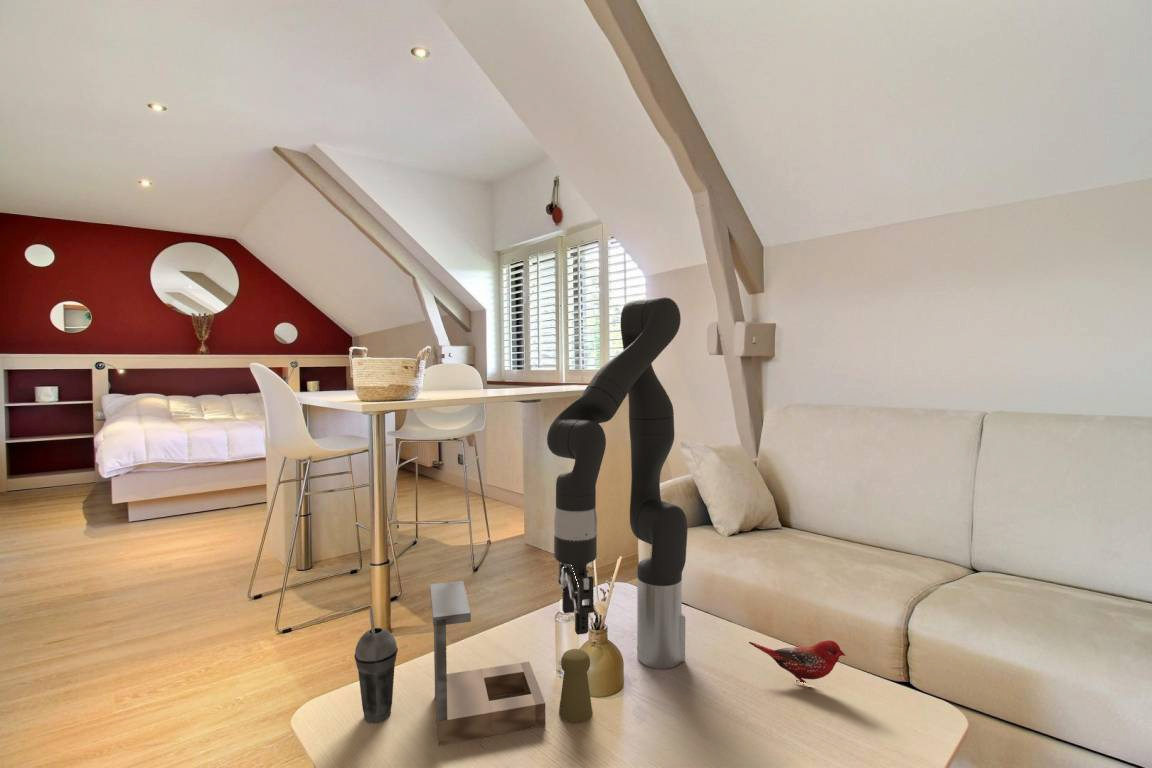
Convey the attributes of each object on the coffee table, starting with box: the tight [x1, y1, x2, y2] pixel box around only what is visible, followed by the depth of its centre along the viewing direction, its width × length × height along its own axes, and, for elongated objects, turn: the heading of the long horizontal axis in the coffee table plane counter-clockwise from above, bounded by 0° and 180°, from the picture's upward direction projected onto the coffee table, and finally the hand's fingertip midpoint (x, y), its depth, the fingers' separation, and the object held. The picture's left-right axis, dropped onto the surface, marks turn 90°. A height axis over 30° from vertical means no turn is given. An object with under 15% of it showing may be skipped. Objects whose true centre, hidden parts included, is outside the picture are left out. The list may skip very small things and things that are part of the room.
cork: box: [558, 648, 593, 724], centre depth 103 cm, size 6×6×11 cm
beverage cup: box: [353, 607, 399, 724], centre depth 102 cm, size 7×7×20 cm
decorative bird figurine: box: [748, 639, 847, 683], centre depth 112 cm, size 3×18×10 cm, turn 62°
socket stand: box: [429, 580, 546, 746], centre depth 103 cm, size 18×14×22 cm
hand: (574, 622), depth 102 cm, fingers open, 8 cm apart
